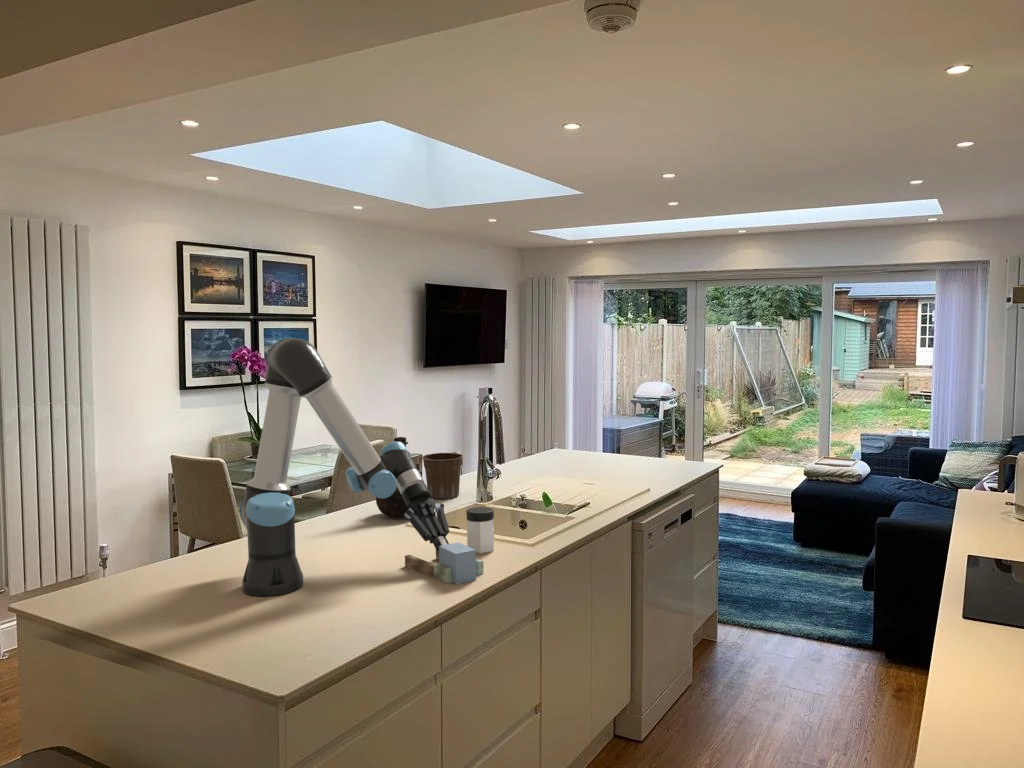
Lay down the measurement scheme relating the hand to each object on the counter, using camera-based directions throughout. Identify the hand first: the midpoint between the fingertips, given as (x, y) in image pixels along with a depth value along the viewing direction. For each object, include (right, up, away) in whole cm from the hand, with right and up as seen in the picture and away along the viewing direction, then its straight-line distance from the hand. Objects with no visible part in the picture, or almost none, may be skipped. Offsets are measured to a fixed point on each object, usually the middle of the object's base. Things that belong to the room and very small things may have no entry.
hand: (448, 558), depth 208 cm
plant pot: (-10, +3, +95) cm, 95 cm away
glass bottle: (-22, +1, +64) cm, 68 cm away
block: (+3, -4, -5) cm, 7 cm away
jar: (+8, -2, +21) cm, 22 cm away
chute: (-2, -3, +2) cm, 4 cm away
